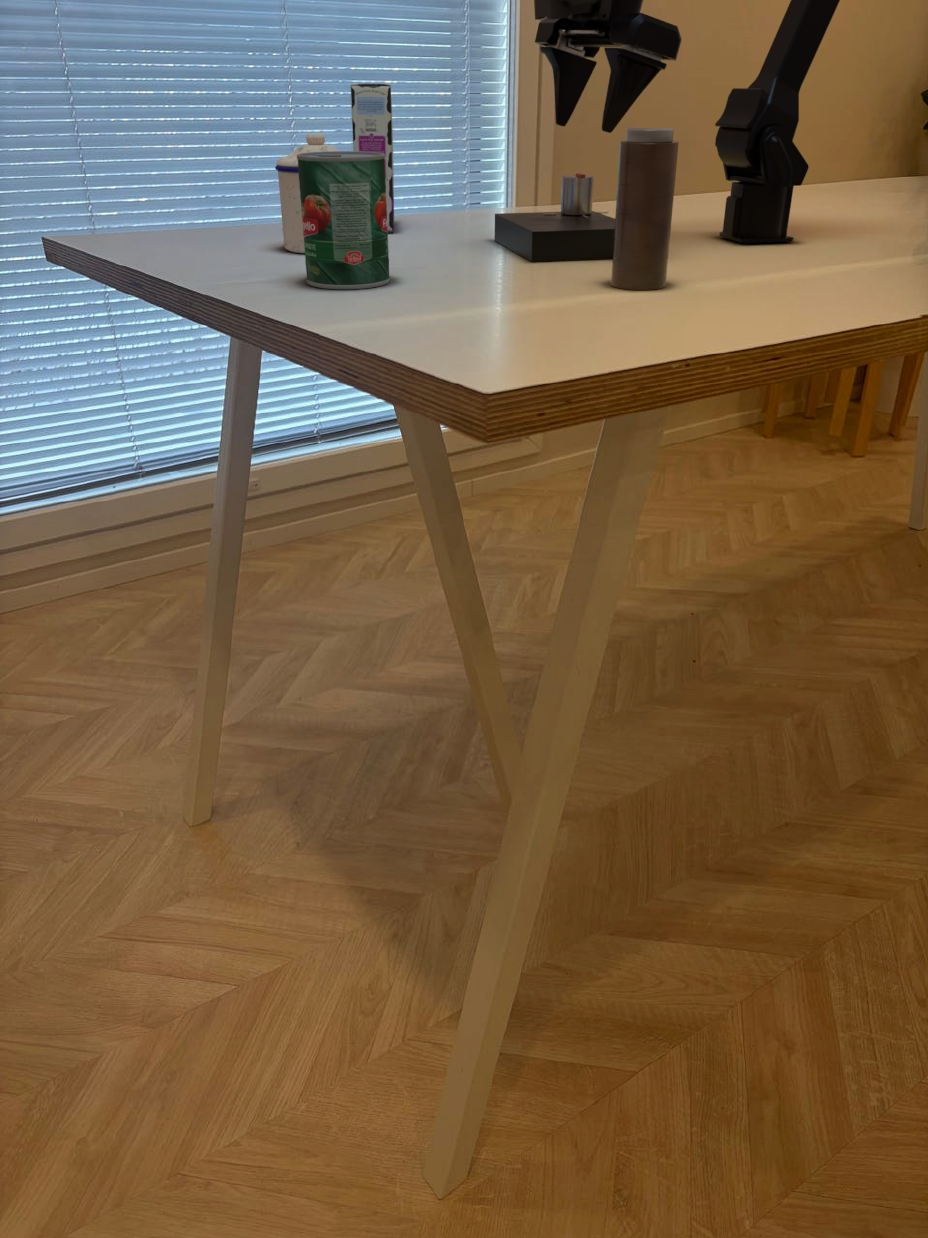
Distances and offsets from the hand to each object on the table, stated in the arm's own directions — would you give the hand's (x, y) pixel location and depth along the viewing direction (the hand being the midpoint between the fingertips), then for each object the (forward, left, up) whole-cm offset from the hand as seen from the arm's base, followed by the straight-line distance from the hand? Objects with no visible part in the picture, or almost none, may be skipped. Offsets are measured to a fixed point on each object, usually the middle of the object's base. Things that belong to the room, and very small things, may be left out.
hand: (582, 128), depth 105 cm
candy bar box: (+19, -24, -12) cm, 33 cm away
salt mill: (+1, +22, -12) cm, 25 cm away
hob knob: (-2, -6, -9) cm, 11 cm away
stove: (+1, -1, -12) cm, 12 cm away
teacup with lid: (+27, -9, -12) cm, 31 cm away
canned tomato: (+27, +14, -12) cm, 33 cm away
